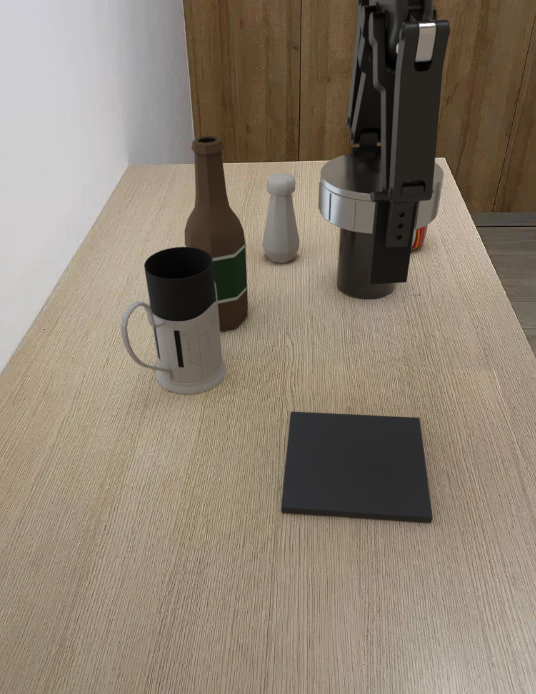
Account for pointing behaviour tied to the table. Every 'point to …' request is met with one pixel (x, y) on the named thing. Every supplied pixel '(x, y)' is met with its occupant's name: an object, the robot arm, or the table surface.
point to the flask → (357, 267)
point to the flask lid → (363, 192)
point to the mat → (356, 467)
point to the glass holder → (182, 320)
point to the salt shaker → (280, 220)
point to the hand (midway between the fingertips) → (373, 251)
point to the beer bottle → (218, 232)
